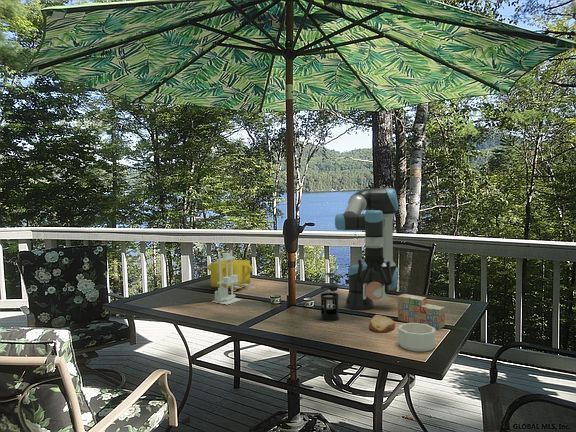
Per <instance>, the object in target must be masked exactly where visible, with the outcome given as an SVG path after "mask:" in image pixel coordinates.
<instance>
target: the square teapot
mask: <svg viewBox="0 0 576 432" xmlns="http://www.w3.org/2000/svg"><path fill="white" fill-rule="evenodd" d="M250 262H251V260H249V259H248V260H247V259H235V257H234V258H233V259H232V268H233V275H238V282H235V283H237V284H233V290H235V289H236V290H237V288H235V287H234V286H239V287H242V286H244V285H240V284H248V285H249V284H251V273H252V271H253V266H252V265H251V263H250ZM206 269H207V270H208V271H209V272H210V273H209V275H210V287H215V288H217V289H218V288H220V284H217V282H219V261H212V262H210V263H209V264H208V265H207V266H206ZM227 272H228V277H230V275H231V262H230V260H227ZM223 277H226V261H221V281H223V280H224V279H223ZM230 285H231V284H230ZM222 286H223V287H224V288H227V285H226V284H221V287H222ZM244 287H245V286H244ZM228 289H230V290H231V286H228Z"/></svg>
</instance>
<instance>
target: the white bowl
mask: <svg viewBox="0 0 576 432" xmlns="http://www.w3.org/2000/svg"><path fill="white" fill-rule="evenodd" d="M397 334H398V335H397V343H398V345H399V347H401V348H403V349H405V350H407V351H411V352H418V353H419V352H421V353H422V352H423V353H424V352H430V351H432V350H434V349H435V347H436V329H435V328H434V327H431V326H429V325H427V324H420V323H408V322H405V323H401V324H400V325H399V326H398V328H397Z"/></svg>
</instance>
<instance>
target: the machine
mask: <svg viewBox="0 0 576 432" xmlns="http://www.w3.org/2000/svg"><path fill="white" fill-rule="evenodd" d="M233 258H234V259H235V256H233V250H232V249H230V250H229V252H222V257H221V251H220V252H219V251H218V258H216V259H215V260H216V261H219V282H217V284H220V288H218V287H217V289H218V290H215V291H214V299H215V300H211V303H212V302H216V303H221V304H226V305H228V304H231V303H234V302H237V301H240V300H242V301H243V299H242V298H237V297H236V296H237V295H236V294H235V293H234V292H233V284H237V283H235V282H238V275H233V268H232V259H233ZM227 260H230V262H231V275H230V277H228V272H227ZM216 261H215V262H216ZM221 261H226V277H223V279H224V280H223V281H221ZM221 284H226V285H227V288H224V287H223V286H222V287H221ZM230 284H231V285H230ZM240 285H244V287H247V286H248V289H250V290H255V289H256V286H251V285H249V284H240ZM228 286H231V291H230V292H231V294H229V288H228ZM234 287H235V288H237V289H238V290H239V289H243V288H242V287H239V286H234ZM237 289H236V290H237ZM240 302H241V301H240ZM237 303H238V302H237ZM234 304H235V303H234ZM226 305H225V306H226ZM231 305H232V304H231ZM228 306H229V305H228Z"/></svg>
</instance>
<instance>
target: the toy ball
mask: <svg viewBox="0 0 576 432" xmlns="http://www.w3.org/2000/svg"><path fill="white" fill-rule="evenodd" d="M365 292H366V295H367V297H368V298H369V299H371V300H373V301H379V300H381V299H383V288H382V285H381V284H380V283H378V282H371V283H369V284H368V285H367V287H366V290H365Z"/></svg>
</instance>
